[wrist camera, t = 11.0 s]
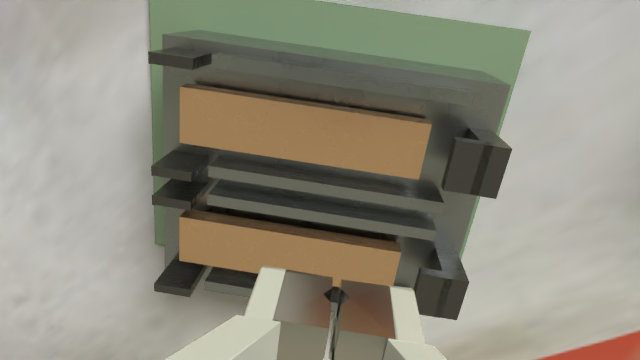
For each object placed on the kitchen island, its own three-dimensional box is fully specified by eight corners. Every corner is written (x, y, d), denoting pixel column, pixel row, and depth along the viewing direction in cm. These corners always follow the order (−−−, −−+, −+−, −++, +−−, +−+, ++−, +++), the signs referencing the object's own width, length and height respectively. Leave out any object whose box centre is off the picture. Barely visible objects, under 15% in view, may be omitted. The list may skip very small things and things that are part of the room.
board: (158, 239, 32) (155, 243, 31) (153, -23, 25) (148, -23, 24) (449, 287, 31) (450, 292, 30) (526, 30, 24) (530, 31, 24)
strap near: (187, 137, 22) (179, 142, 21) (187, 83, 21) (179, 86, 20) (416, 172, 22) (418, 179, 21) (428, 119, 20) (431, 124, 20)
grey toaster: (194, 232, 31) (142, 302, 23) (198, 29, 25) (132, 37, 18) (428, 270, 30) (449, 354, 23) (482, 71, 25) (534, 96, 17)
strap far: (186, 251, 25) (179, 260, 24) (186, 208, 24) (179, 216, 23) (389, 284, 24) (390, 295, 23) (399, 242, 23) (401, 252, 22)
